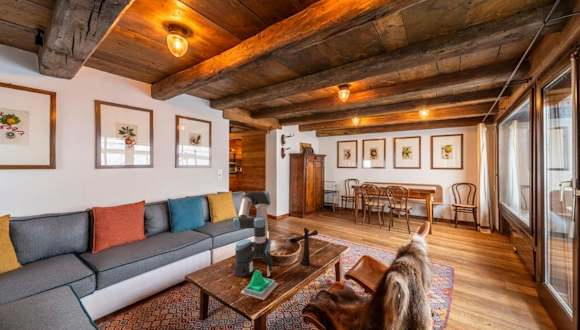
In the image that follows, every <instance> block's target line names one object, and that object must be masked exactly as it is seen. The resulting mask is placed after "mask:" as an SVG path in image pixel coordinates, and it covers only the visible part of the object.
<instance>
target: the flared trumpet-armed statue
mask: <svg viewBox="0 0 580 330" xmlns="http://www.w3.org/2000/svg"><path fill="white" fill-rule="evenodd" d="M303 232H304V235H302V236H297V237H291V238H290V239H289V242H290V243H291V244H297V243H298V242H300V241H302V240H303V242H304V243H303V254H302V258H301V259H300V261H299V264H300V265H301V266H303V267H309V266H310V265H311V263H310V243H309V242H310V241H309V240H310V237H312V236H313V237H314V236H318V235H319V232H318V230H317V229H315V230H313V231H311V232H310V229H308V228H307V227H304V228H303Z"/></svg>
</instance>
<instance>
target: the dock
mask: <svg viewBox="0 0 580 330" xmlns="http://www.w3.org/2000/svg"><path fill="white" fill-rule="evenodd" d="M262 277H263V276H262ZM263 279H266V280H268V281H270V284H269V285H267V287H266V288H265V289H264V290H262V291H261V290H260V291H255V290H253V289H250V288H249V285H250V283H249V284H248V285H247V286H246V287H244V288H243V289H242V290H241V291H240V294H241V295H245V296H249V297H252V298H256V299H258V300H262V301H265V300H266V298H267V297H269V296H270V294H271V293H272V292H273V291H274V290H275V289H276V287H277V286H278V285H279V283H277V282H276V280H275V279H271V278H267V277H263Z"/></svg>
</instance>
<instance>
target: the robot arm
mask: <svg viewBox="0 0 580 330" xmlns="http://www.w3.org/2000/svg"><path fill="white" fill-rule="evenodd" d="M239 204H240V206H239V210H238V214H237V217H234V218H233V221H232V226H233V227H232V228H233V229H235V230H242V229H243V230H244V229H253V241H252V240H251V239H242V240H239V241H237V242H236V243H235V249H234V250H235V264H234V267H233V270H232V271H233V272H232V273H233V275H235V276H236V277H248V276H250V275H253V274H254V263H253V262H254V261H253V259H263V260H264V261H265V263H266V264H267V273H266V274H267V275H266V276H267V277H269V276H271V272H272V269H273V268H272V267H273V266H274V265H275V262H274V259H273V256H272V255H271V247H272V246H271V245H272V244H271V243H272V241H270V238H269V237H268V208H269V207H270V205H271V196H270V192H269V191H266V190H265V191H264V190H260V191H259V190H258V191H257V190H256V191H254V190H253V191H248V192H246V193H245V194H243V195H242V196H241V198H240V200H239ZM251 206H254V207H255V208H256V216H253V217H250V216H249V214H250V208H251Z"/></svg>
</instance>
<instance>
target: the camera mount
mask: <svg viewBox="0 0 580 330" xmlns="http://www.w3.org/2000/svg"><path fill="white" fill-rule="evenodd" d="M249 284H250V285H249ZM249 284H248V285H249V288H250V289H253V290H255V291H260V290H261V291H262V290H264V289H265V288H266V287H267V285H269V284H270V281H268V280H266V279H263V275H262V272H261V270H258V269H256V270H253V273H252V276H251V280H250V283H249Z"/></svg>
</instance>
